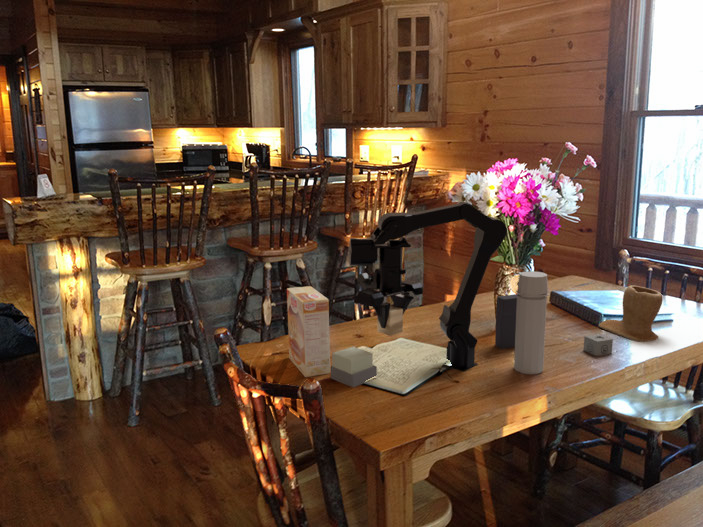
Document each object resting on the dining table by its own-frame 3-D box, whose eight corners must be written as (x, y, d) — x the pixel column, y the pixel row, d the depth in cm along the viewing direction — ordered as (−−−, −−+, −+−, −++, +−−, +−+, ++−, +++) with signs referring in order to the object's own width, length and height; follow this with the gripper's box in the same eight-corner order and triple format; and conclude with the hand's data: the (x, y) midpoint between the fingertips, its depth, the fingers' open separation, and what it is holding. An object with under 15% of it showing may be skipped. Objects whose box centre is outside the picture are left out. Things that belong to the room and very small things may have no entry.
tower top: (372, 367, 157) (372, 353, 156) (351, 374, 152) (351, 360, 152) (353, 359, 162) (353, 346, 161) (332, 366, 158) (332, 352, 157)
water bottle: (538, 379, 156) (543, 279, 151) (507, 372, 160) (511, 275, 155) (551, 367, 163) (556, 272, 158) (522, 361, 168) (526, 268, 163)
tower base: (376, 379, 158) (376, 366, 157) (353, 389, 153) (353, 375, 152) (354, 371, 164) (354, 358, 163) (330, 380, 158) (330, 366, 158)
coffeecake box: (288, 358, 173) (285, 288, 169) (313, 354, 175) (311, 285, 171) (304, 377, 159) (301, 301, 155) (331, 373, 161) (329, 298, 157)
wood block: (402, 331, 161) (402, 308, 160) (390, 335, 158) (390, 312, 157) (389, 328, 164) (389, 305, 163) (377, 331, 161) (377, 308, 160)
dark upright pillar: (526, 342, 182) (529, 291, 179) (536, 347, 178) (538, 295, 175) (493, 347, 179) (495, 295, 175) (501, 352, 175) (503, 299, 172)
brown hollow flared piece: (668, 341, 182) (673, 290, 179) (637, 347, 177) (641, 294, 174) (627, 326, 196) (631, 279, 192) (597, 332, 191) (600, 283, 188)
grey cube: (611, 357, 170) (612, 339, 169) (596, 359, 168) (597, 341, 167) (598, 351, 175) (599, 333, 174) (583, 353, 173) (584, 336, 172)
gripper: (392, 255, 169) (391, 312, 173) (340, 265, 157) (340, 326, 160) (424, 261, 161) (423, 321, 165) (372, 272, 149) (372, 336, 152)
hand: (389, 325), depth 161 cm, fingers closed on wood block, 4 cm apart
